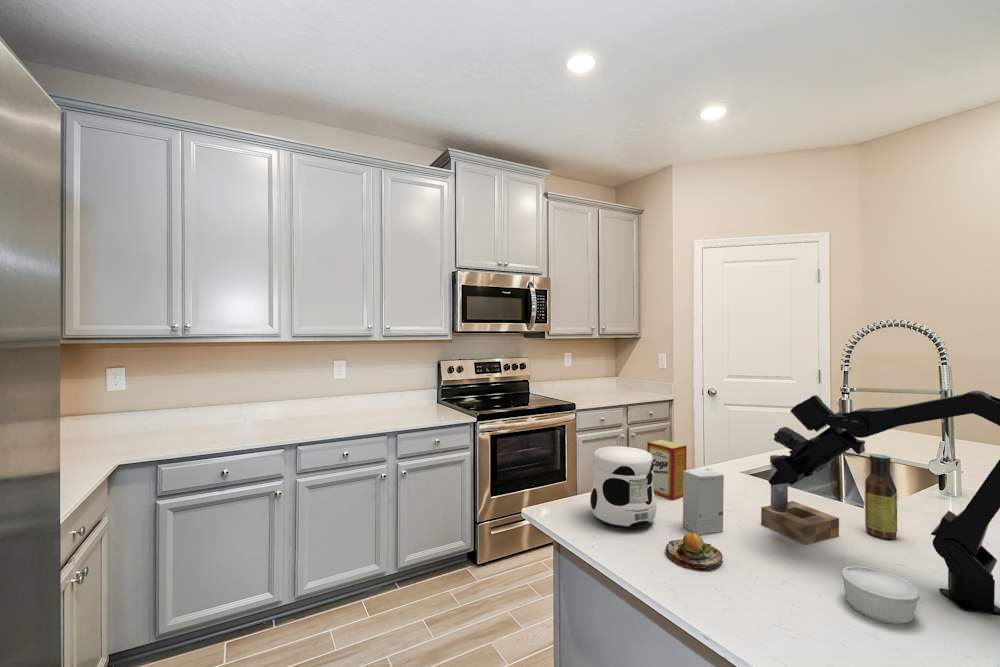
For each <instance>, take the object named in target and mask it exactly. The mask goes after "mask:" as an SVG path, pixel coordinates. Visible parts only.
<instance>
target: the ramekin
mask: <svg viewBox="0 0 1000 667" xmlns="http://www.w3.org/2000/svg"><path fill="white" fill-rule="evenodd" d="M840 577H841V579H842V583H843V586H844V587H843V588H844V594H845V598H846V600H847V602H848V603H849V604H850V605H851V607H852V608H853V609H855V610H856V611H858V612H859V613H861V614H862V615H865V616H867V617H869V618H871V619H874V620H877V621H880V622H883V623H887V624H893V625H904V624H907V623H909V622H911V621H912V620H913V619H914V617H915V613H916V609H917V604H918V601H920V592H919V590H918V588H916V586H914V585H913V583H911V582H909V581H907V580H906V579H903V578H902V577H900V576H897V575H896V574H892V573H890V572H887V571H884V570H880V569H876V568H872V567H867V566H857V565H856V566H853V565H852V566H847V567H843V569H842V570H841V576H840Z"/></svg>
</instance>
